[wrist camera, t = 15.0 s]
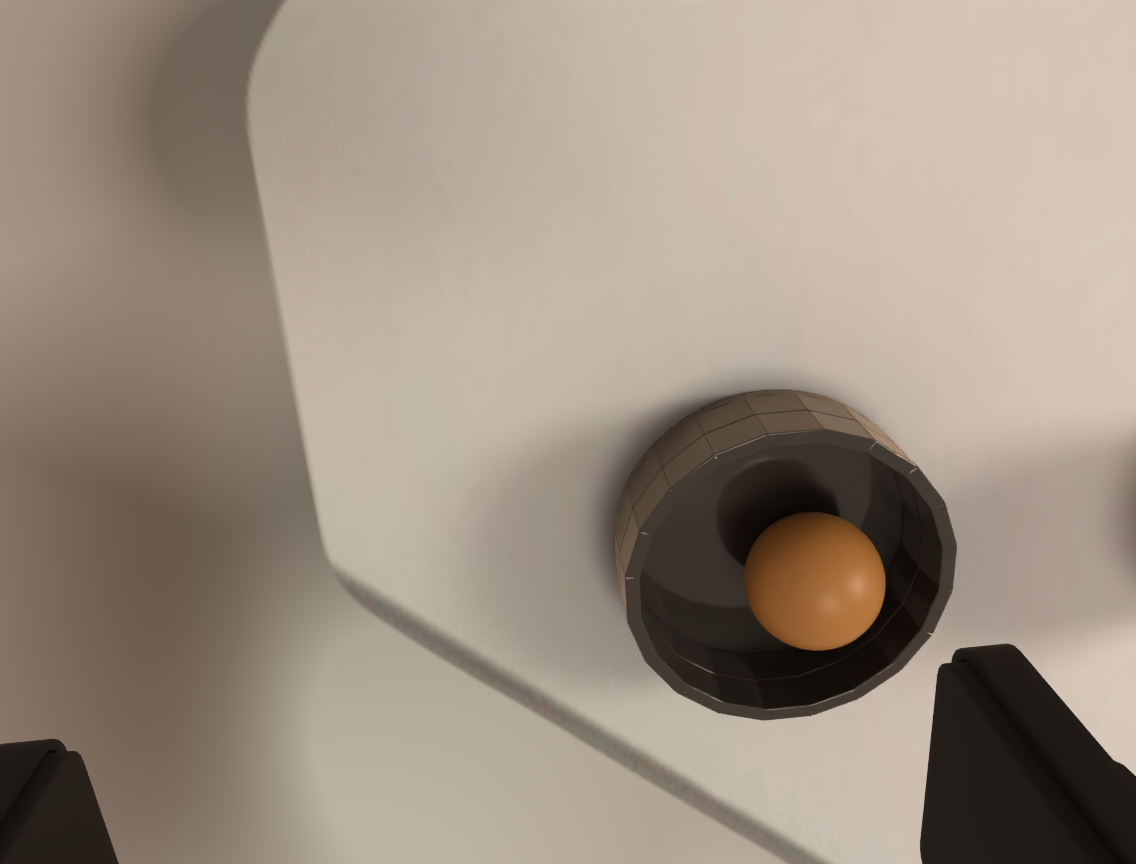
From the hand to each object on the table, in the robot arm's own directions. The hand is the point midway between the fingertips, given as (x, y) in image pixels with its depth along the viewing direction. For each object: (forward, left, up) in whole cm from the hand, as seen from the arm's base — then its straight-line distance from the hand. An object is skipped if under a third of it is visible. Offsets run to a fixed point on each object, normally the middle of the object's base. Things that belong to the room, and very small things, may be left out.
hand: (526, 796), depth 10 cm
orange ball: (+10, -13, -27) cm, 32 cm away
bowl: (+10, -13, -28) cm, 32 cm away
